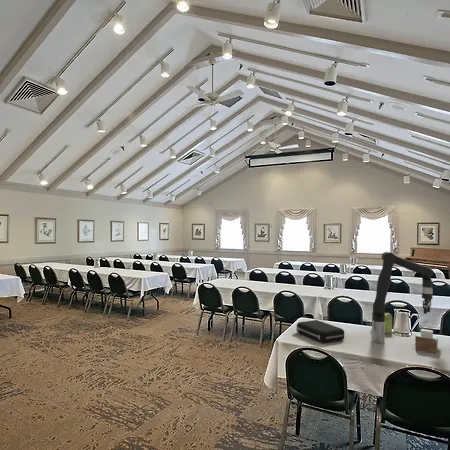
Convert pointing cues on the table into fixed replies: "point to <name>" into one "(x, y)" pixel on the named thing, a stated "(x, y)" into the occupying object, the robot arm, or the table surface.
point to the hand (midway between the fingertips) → (426, 312)
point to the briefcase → (320, 331)
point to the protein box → (386, 322)
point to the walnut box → (426, 344)
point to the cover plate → (427, 334)
